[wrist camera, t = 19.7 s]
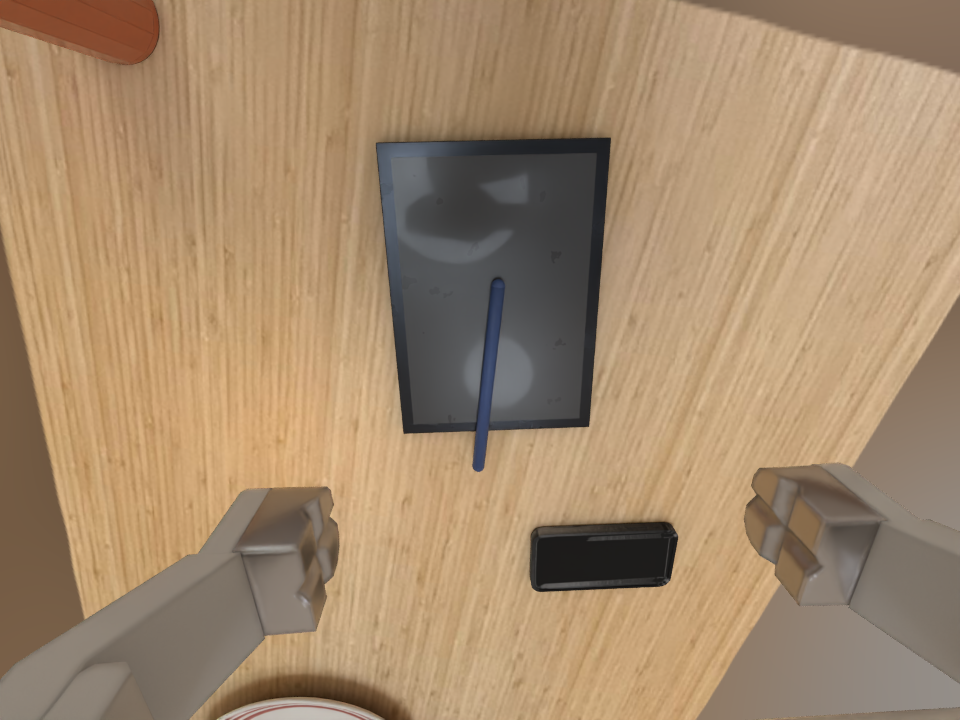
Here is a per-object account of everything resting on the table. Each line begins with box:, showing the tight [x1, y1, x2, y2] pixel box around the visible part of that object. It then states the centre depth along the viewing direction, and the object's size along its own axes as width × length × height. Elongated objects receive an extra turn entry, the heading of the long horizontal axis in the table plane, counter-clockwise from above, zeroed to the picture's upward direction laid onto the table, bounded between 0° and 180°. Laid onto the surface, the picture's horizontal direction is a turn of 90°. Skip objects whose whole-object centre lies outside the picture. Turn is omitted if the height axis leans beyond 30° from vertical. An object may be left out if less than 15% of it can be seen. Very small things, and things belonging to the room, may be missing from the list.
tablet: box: [376, 138, 611, 434], centre depth 38 cm, size 24×17×1 cm
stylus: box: [472, 279, 505, 472], centre depth 40 cm, size 1×1×18 cm
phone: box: [530, 522, 678, 592], centre depth 49 cm, size 8×1×15 cm
